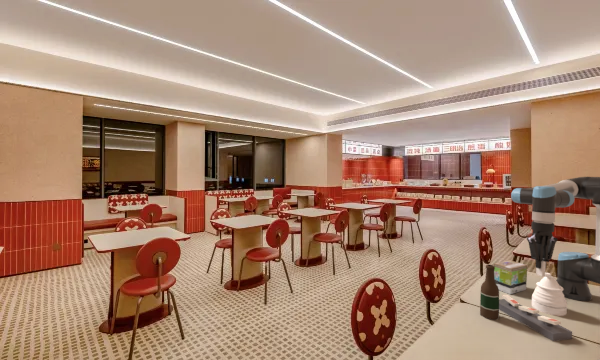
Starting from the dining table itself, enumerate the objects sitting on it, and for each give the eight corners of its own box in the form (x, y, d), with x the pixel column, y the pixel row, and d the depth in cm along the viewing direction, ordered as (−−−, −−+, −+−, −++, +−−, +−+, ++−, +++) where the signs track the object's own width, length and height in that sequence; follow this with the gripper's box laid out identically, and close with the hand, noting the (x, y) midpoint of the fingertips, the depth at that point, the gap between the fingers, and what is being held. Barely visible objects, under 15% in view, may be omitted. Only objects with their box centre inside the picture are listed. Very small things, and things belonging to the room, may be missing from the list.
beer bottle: (502, 321, 127) (504, 269, 126) (483, 319, 128) (484, 267, 127) (494, 312, 134) (495, 263, 133) (476, 310, 136) (477, 262, 135)
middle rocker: (518, 309, 130) (518, 306, 130) (524, 308, 130) (523, 305, 131) (533, 313, 123) (532, 310, 123) (539, 313, 124) (538, 309, 124)
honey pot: (555, 317, 129) (556, 279, 128) (525, 305, 141) (526, 270, 141) (573, 313, 133) (574, 276, 133) (542, 300, 146) (543, 267, 145)
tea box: (511, 295, 152) (512, 268, 152) (492, 288, 161) (492, 262, 161) (527, 290, 159) (527, 264, 158) (507, 283, 168) (508, 259, 167)
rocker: (501, 296, 139) (502, 294, 139) (506, 296, 139) (507, 294, 139) (514, 306, 132) (514, 304, 132) (519, 306, 133) (520, 303, 132)
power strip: (492, 305, 141) (493, 298, 140) (508, 304, 142) (508, 296, 142) (553, 341, 112) (553, 331, 112) (571, 338, 113) (572, 329, 113)
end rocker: (538, 319, 121) (537, 316, 121) (543, 318, 121) (543, 315, 122) (554, 324, 114) (554, 321, 114) (560, 324, 115) (560, 320, 115)
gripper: (547, 220, 125) (545, 271, 126) (521, 220, 124) (519, 272, 125) (565, 223, 118) (562, 278, 119) (538, 223, 116) (535, 279, 117)
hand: (540, 275), depth 122 cm, fingers closed
